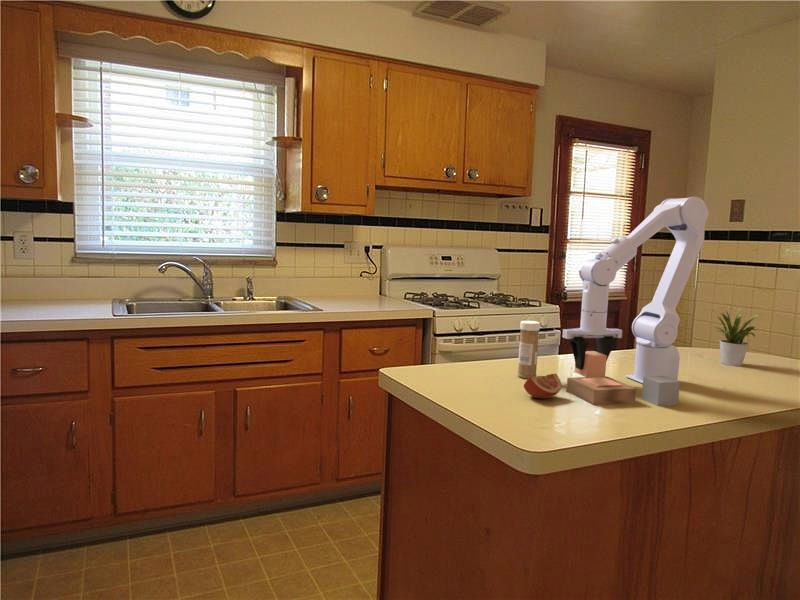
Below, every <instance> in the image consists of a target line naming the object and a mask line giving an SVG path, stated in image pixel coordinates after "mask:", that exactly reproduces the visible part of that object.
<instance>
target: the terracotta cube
mask: <svg viewBox="0 0 800 600" xmlns="http://www.w3.org/2000/svg"><path fill="white" fill-rule="evenodd" d="M606 359H607V355H604V354H601V353H598V352H597V350H596V351H595V350H586V353H585V360H584V367H583V370H580V369H578V368H576V364H575V363H574V371H573V372H574V373H576V374H578V375H580V376H581V377H582V376H583V377H604V376H606V371H607V370H606V369H607V361H606ZM607 360H608V359H607Z"/></svg>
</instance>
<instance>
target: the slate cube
mask: <svg viewBox="0 0 800 600" xmlns="http://www.w3.org/2000/svg"><path fill="white" fill-rule="evenodd" d="M680 385H681V381H679V380H677V381H676V380H673V379H671V378H668V377H665V376H644V377H643V383H642V388H641V400H642V401H644V402H648V403H650V404H652V405H654V406H656V407H662V406H663V407H665V406H666V405H668V406H678V405H679V396H680Z"/></svg>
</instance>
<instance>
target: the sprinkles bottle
mask: <svg viewBox="0 0 800 600" xmlns="http://www.w3.org/2000/svg"><path fill="white" fill-rule="evenodd" d="M519 324H520V326H519V329H520V334H519V335H520V336H519V337H520V338H519V347H518V360H517V362H518V365H517V366H518V368H517V377H518V378H521V379H526V380H528V379H529V378H530V377H533V376H538V375H537V367H538V366H537V365H538V353H539V351H538V350H539V345H538V344H539V333H540V330H541V329H540V328H541V323H540V322H539V321H536V320H521V321H520V323H519Z"/></svg>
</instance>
